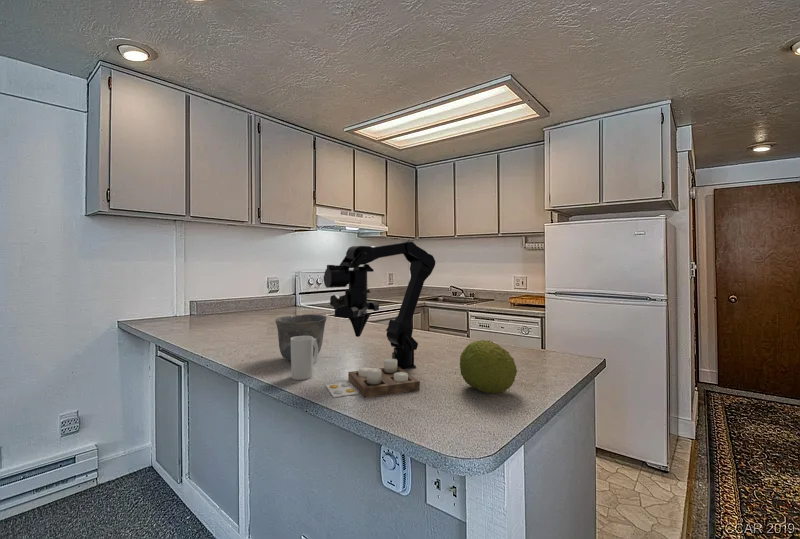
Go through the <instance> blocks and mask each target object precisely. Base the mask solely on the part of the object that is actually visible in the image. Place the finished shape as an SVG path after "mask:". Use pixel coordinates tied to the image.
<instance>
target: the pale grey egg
mask: <svg viewBox="0 0 800 539" xmlns="http://www.w3.org/2000/svg"><path fill="white" fill-rule="evenodd" d="M383 368H384V372H387V373H394V372H397V359H392V358H386V359H384V360H383Z"/></svg>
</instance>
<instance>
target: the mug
mask: <svg viewBox="0 0 800 539" xmlns="http://www.w3.org/2000/svg"><path fill="white" fill-rule="evenodd" d="M313 345H314V347H315V354H314V357H313ZM318 356H319V353H318V345H317V342H316V339H315V338H314V339H313V337H312V336H296V337H292V338H291V361H290V367H291V368H290V369H291V378H292V379H293V380H294V381H295V380H296V381H297V380H298V381H303V380H305V381H306V380H308V379H312V378H313V376H314V365H315V364H316V363H317V360H318ZM316 365H317V364H316Z"/></svg>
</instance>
